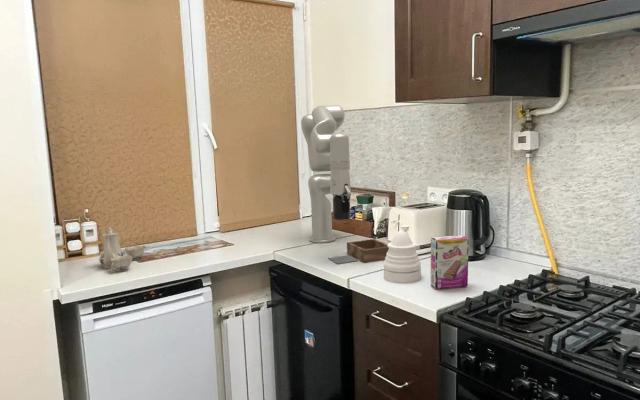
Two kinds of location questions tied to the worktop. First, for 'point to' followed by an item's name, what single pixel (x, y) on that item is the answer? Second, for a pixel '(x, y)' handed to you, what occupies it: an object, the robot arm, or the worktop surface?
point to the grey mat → (343, 259)
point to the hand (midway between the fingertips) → (341, 210)
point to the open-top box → (367, 250)
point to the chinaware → (118, 252)
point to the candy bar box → (449, 262)
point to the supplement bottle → (339, 209)
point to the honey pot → (402, 259)
